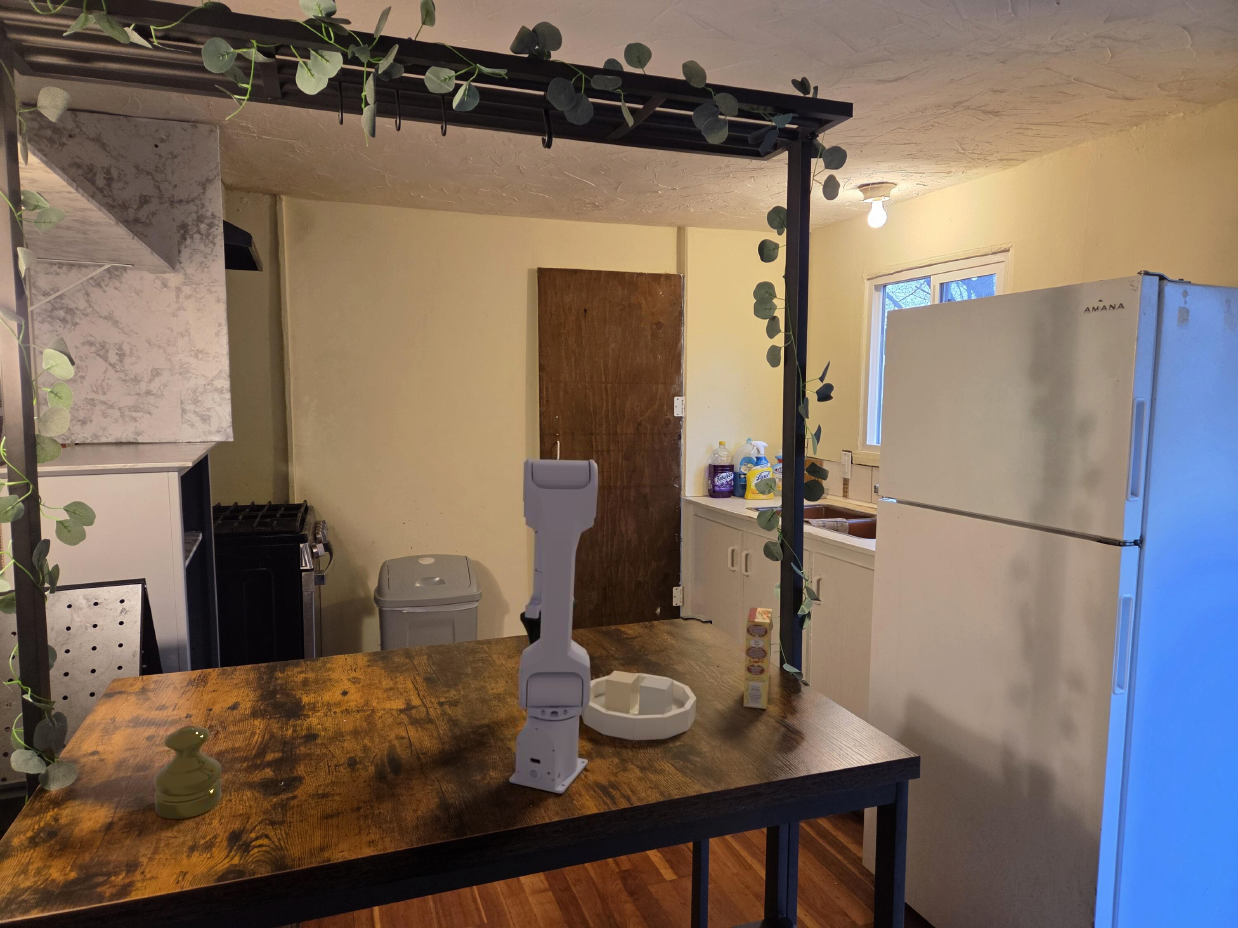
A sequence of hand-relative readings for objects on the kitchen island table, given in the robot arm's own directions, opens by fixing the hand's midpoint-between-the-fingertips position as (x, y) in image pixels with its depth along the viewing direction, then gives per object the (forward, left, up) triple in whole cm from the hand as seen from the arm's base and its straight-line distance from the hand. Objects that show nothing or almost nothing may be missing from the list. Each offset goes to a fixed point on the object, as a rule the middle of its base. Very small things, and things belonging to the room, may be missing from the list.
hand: (548, 648), depth 131 cm
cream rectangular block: (+3, -12, -9) cm, 15 cm away
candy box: (+18, -32, -10) cm, 38 cm away
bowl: (+3, -15, -10) cm, 18 cm away
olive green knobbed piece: (-46, +28, -10) cm, 55 cm away
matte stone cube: (+3, -18, -9) cm, 20 cm away
